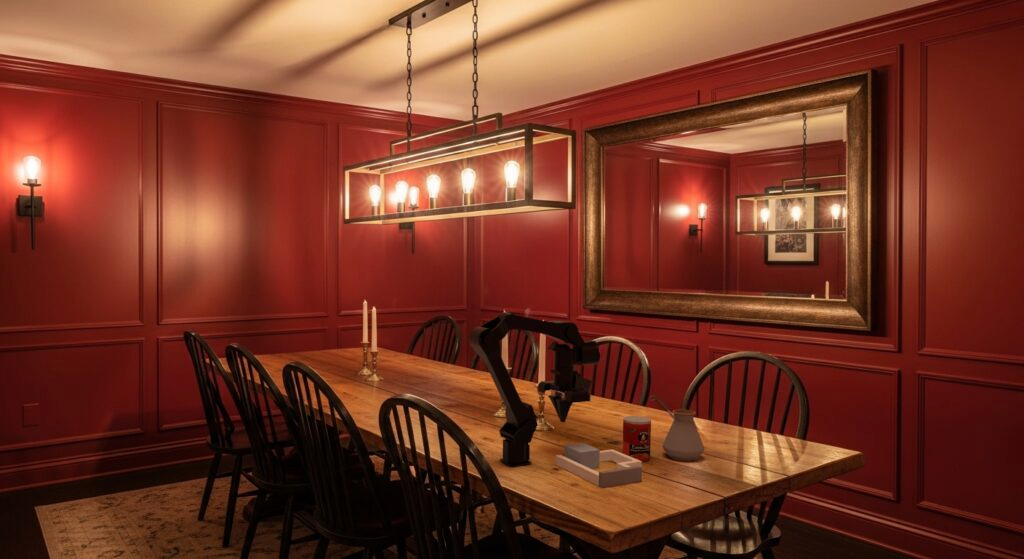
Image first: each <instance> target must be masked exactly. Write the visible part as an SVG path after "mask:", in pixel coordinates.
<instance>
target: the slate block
mask: <svg viewBox="0 0 1024 559" xmlns="http://www.w3.org/2000/svg"><path fill="white" fill-rule="evenodd" d="M563 446H564V447H563V456H564V457H566V458H569V459H571V460H573V461H575V462H577V463H579V464H581V465H584V466H586V467H588V468H590V469H592V470H596V469H600V462H599V458H600V451H601V450H600V449H599V448H596V447H594V446H591V445H589V444H588V443H584V442H579V443H578V442H577V443H572V444H571V443H570V444H564V445H563Z"/></svg>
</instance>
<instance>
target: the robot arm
mask: <svg viewBox="0 0 1024 559" xmlns="http://www.w3.org/2000/svg"><path fill="white" fill-rule="evenodd" d="M512 329H517V330H520V331H521V330H522V331H527V332H533V333H538V334H542V335H544V336H545V337H548V338H550V339H552V340H554V341H552V343H551V344H550V345H548V346H547V347H546V348H547V350H548V351H552V352H553V368H550V373H551V374H552V375H553V379H552V380H544V381H543V380H542V381H540V382H539V383H538V385H537V391H538V393H539V392H540V393H543V394H544V393H545V392H548V391H550V395H548V398H549V400H550V402H551V404H552V406H553V408H554V410H555V412H556V414H557V417H558V419H559V421H560V422H561V423H566V420H567V417H568V415H569V411H570V409H571V407H572V405H573V404H574V403H586V402H591V396H592V395H591V392H590V391H591V387H592V385H593V380H591V379H588V378H585V377H583V376H582V375H581V373H579V371H578V370H576V369H575V365H577V366H588V365H589V366H590V365H597V364H599V362H600V360H601V353H600V350H599V347H598V346H597V341H596V340H593V339H592V340H586V341H585V340H584V338H583V337H582V335H581V334H580V332H579V327H578V325H577V324H576V323H575V322H571V321H567V320H566V321H565V320H542V319H536V318H532V317H528V316H524V315H522V316H521V315H517V314H515V313H512V312H506V311H504V312H501V313H500V314H498V315H496V316H495V317H494V318H492V319H490V320H488V321H486V322H484V323H483V324H481V325H480V326H476V327H474V328H472V329H471V331H470V332H469V334H468V337H467V340H468V344H469V346H471V348H472V349H473V350H474V352H475V353H476V354H477V356H479V358H480V359H481V360H482V361H483V362H484V364H485V365H486V368H487V370H488V373H489V375H490V377H491V379H492V381H493V383H494V385H495V387H496V389H497V391H498V393H499V395H500V396H499V397H500V398H501V400H502V403H503V404H504V408H505V412H504V413H505V414H504V415H505V419H506V422H504V424H503V425H502V426H501V427H500V429H499V430H498V431H499V435H500V437H501V438H503V439H502V458H500V459H499V461H500V462H501V463H503V464H505V465H507V466H508V467H517V466H524V465H525V466H526V465H531V464H532V461H530V460H531V459H530V458H531V456H530V455H531V454H530V453H531V452H530V451H531V450H530V449H531V445H530V444H529V443H532V439H533V436H534V434H535V432H536V430H537V427H538V421H537V419H538V418H539V417H538V416H537V414H536V413H535V410H534V406H533V405H532V404H529V403H526V402H525V401H523V400H521V397H520V395H519V393H518V390H517V388H516V386H515V384H514V382H513V380H512V377H511V376H510V373H509V371H508V369H507V367H506V365H505V362H504V360H503V358H502V346H501V341H502V340H503V339H504V338H505V337H506V336H507V335H508V333H509V332H510V331H511V330H512ZM559 342H562V343H559ZM570 345H571V346H570Z"/></svg>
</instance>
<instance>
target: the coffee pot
mask: <svg viewBox="0 0 1024 559" xmlns="http://www.w3.org/2000/svg"><path fill="white" fill-rule="evenodd" d="M651 398H652V399H651ZM649 400H650V401H651V402H652V401H655V402H657V404H658V405H659V406H660V407H661V408H662V409H663V410H664V411H665V412H666V413H668V415H670V417H671V418H672V419H673V421H672V423H671V425H670V428H669V430H668V433H667V434H666V436H665V438H664V441H663V443H662V449H663V451H664V452H665V454H667V455H668V456H669V458H671V459H673V460H677V461H684V462H685V461H690V462H691V461H696V460H697V459H698V458H699V457H701V455H702V454H704V451H705V445H704V443H703V441H702V438H701V436H700V433H699V431H698V428H697V425H696V423H695V421H694V418H695V415H696V414H697V413H696V411H695V410H692V409H674V410H672V411H671V410H670V409H669V408H668V406H666V404H665V403H664V402H663V401H661V400H660V398H659V397H657V395H654V394H651V396H650V397H649Z"/></svg>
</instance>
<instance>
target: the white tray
mask: <svg viewBox="0 0 1024 559" xmlns="http://www.w3.org/2000/svg"><path fill="white" fill-rule="evenodd" d="M608 461H612V462H614V463H616V466H615V467H616V468H614V469H608V470H602V471H596V470H595V469H590V468H588V467H586V466H584V465H581V464H579V463H577V462H575V461H573V460H571V459H569V458H566V457H564V455H561V454H556V455H555V465H556V467H557V466H558V467H560V468H562V469H564V470H566V471H568V472H569V473H572V474H574V475H575V476H577V477H580V478H582V479H584V480H586V481H588V482H590V483H592V484H593V485H596V486H598V487H600V488H602V489H603V488H609V487H614V486H615V487H616V486H621V485H622V486H623V485H627V484H632V483H638V482H639V483H640V482H643V481H642V480H643V479H642V478H643V477H642V476H643V465H642V462H643V461H640V460H637V459H635V458H632V457H630V456H627V455H625V454H623V452H620V451H617V450H615V449H612V448H611V449H605V450H600V458H599V463H601V462H608Z"/></svg>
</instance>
